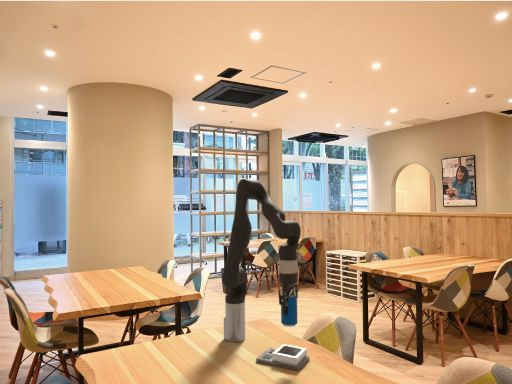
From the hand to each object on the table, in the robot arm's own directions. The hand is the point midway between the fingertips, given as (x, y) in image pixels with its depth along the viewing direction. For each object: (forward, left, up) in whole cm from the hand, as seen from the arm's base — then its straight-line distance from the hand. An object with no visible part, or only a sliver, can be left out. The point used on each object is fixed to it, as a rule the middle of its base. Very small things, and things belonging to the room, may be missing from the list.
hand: (288, 312), depth 149 cm
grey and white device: (-3, 0, -20) cm, 20 cm away
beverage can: (0, 0, -5) cm, 5 cm away
